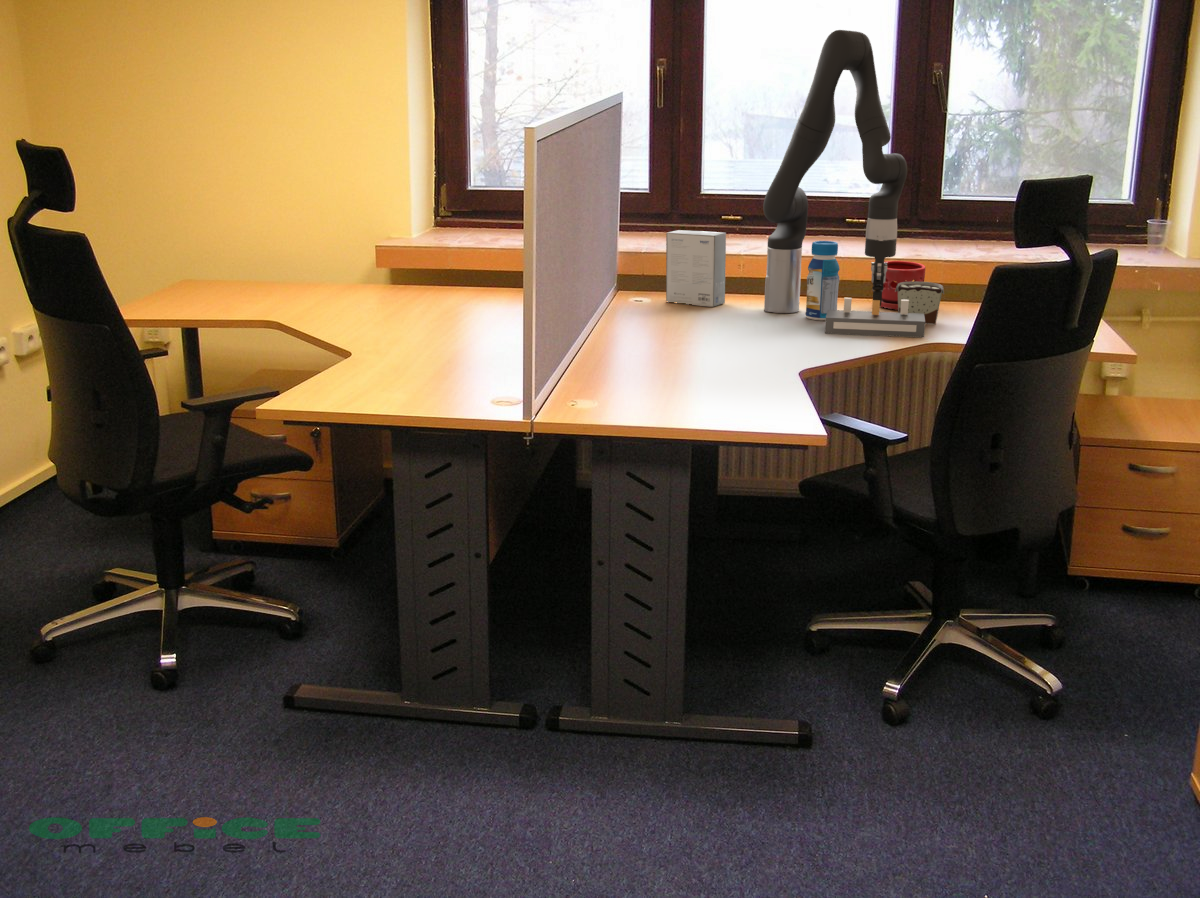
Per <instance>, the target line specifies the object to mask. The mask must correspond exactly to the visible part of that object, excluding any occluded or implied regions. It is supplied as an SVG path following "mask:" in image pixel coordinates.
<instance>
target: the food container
mask: <svg viewBox="0 0 1200 898" xmlns="http://www.w3.org/2000/svg"><path fill="white" fill-rule="evenodd" d="M896 291H898V310H897V313H900V311H901V300H909V305H908V313H921V314H924V316H925V325H933V326H934V325H936V324H937V319H938V315H939V314H938V313H939V309H940V304H941V299H942V296H943V295H945V290H944V286H943V284H940V283H936V282H929V281H924V282H914V281H912V282H902V283H899V284H898V285H897V287H896V290H895V292H896ZM942 294H943V295H942Z"/></svg>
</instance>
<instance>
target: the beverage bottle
mask: <svg viewBox="0 0 1200 898" xmlns="http://www.w3.org/2000/svg"><path fill="white" fill-rule="evenodd" d="M838 244H839V243H838V242H837V241H833V240H832V241H831V240H816V241H812V243H811V255H812V256H813V257H812V258H811V260H810V261H809V263H808V266H807V270H808V274H807V276H806V283H807V284H806V301H805V302H806V304H805V305H806V306H805V317H806V318H807V319H808V320H813V321H820V322H821V321H823V322H824V321H825V322H826V315H827V311H828V310H838V301H839V300H838V299H839V297H838V295H839V283H840V275H839V272H840V264H839V262H838V260H837V259H836V256H838V252H839V245H838Z"/></svg>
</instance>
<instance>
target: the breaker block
mask: <svg viewBox="0 0 1200 898" xmlns="http://www.w3.org/2000/svg"><path fill="white" fill-rule="evenodd" d="M824 324H825V326H824V334H829V335H830V334H831V335H854V336H856V335H857V336H859V335H860V336H881V337H883V336H884V337H904V338H905V337H906V338H922V337H924V338H925V329H926V324H925V316H924V314H921V313H908V315H903V314H900V313H898V312H896V311H895V312H890V311H888V312H887V311H879V315H872V311H870V310H869V311H866V310H865V311H863V310H851V312H844V309H843V310H841V309H840V310H838V309H837V310H828V311H827V315H826V320H825V323H824Z"/></svg>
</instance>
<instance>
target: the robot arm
mask: <svg viewBox="0 0 1200 898" xmlns="http://www.w3.org/2000/svg"><path fill="white" fill-rule="evenodd" d="M873 52H874V51H873V47H872V43H871V40H870V38H869V36H868V35H866V34H865V33H863V32H861V31H856V30H855V31H854V30H846V29H845V30H844V29H838V30H834V31H832V32H831V33H830V34H829V35H828V36H827V37H826V39H825V40H824V43H823V45H822V48H821V50H820V54H819V58H818V61H817V65H816V69H815V73H814V75H813V79H812V83H811V85H810V88H809V91H808V94H807V96H806V99H805V102H804V105H803V107H802V110H801V113H800V115H799V117H798V120H797V122H796V124H795V126H794V130H793V133H792V136H791V137H790V141H789V143H788V146H787V148H786V151H785V153H784V156H783V158H782V161H781V164H780V166H779V169H778V170H777V172H776V174H775V176H774V178H773V180H772V182H771V184H770V186H769V188H768V189H767V192H766V194H765V197H764V200H763V205H762V207H763V208H762V209H763V214H764V216H765V218H766V219H767V220H768V221H769V222H770V223H774V224H776V228H775V230H774V231H773V232H772V233H771V234H770V235H769V236H768V239H767V251H766V252H767V254H766V255H767V257H766V276H765V280H764V281H765V283H764V301H763V302H764V304H763V305H764V307H763V309H764V310H763V312H770V313H775V314H776V313H777V314H792V313H797V312H799V310H800V297H801V296H800V295H801V280H802V279H801V276H802V257H803V256H802V254H803V253H802V252H803V241H804V240H805V237H806V233H807V224H808V223H807V222H808V211H809V202H808V197H807V193H806V192H805V191H804V190H803V188H801V187H799V186H800V184H801V182H802V180H803V178H804V177H805V175H806V174H807V172H808V171H809V170H810V169H811V167H812V166H813V165H814V164H815V162H817V160H818V159H819V158H820V157H821V155H822V154H823V152H824V151H825V149H826V147H827V145H828V142H829V140H830V138H831V136H832V133H833V130H834V128H835V124H836V107H835V95H836V94H835V93H836V89H837V86H838V83H839V81H840V78H841V76H842V74H843V71H849V72H850V74H851V76H852V78H853V80H854V84H855V88H856V91H855V92H856V97H855V103H854V104H855V105H854V119H855V125H856V128H857V131H858V135H859V137H860V141H861V145H862V147H861V148H862V149H861V150H862V152H861V153H862V169H863V173H864V176H865V177H866V179H867V181H868V182H870V183H871V184H875V185H881V187H880V190H878V191H877V192H875V193H874V194H872V195H871V196H870V197H869V199H868V200H869V201H868V210H867V211H868V213H867V214H868V215H867V223H866V227H865V228H866V229H865V242H864V243H865V244H864V245H865V246H864V255H865V256H866V257H870V258H874V262H872V261H871V267H870V271H871V283H872V288H871V290H872V303H873V300H880V307H881V302H882V292H883V289H884V287H883V285H884V283H885V279H886V272H887V265H888V264H887V263H884V262H885V260H886V258H893V257H895V256H896V253H897V241H898V207H899V200H900V197H901V194H902V191H903V188H904V186H905V182H906V179H907V175H908V165H907V164H908V163H907V161H906V159H905V157H904V156H903V155H902V154H900V153H897V152H896V153H884V152H883V148H884V147H885V146H886V145H888V144H889V143H890V141H891V138H892V137H891V132H890V129H889V125H888V122H887V119H886V115H885V112H884V109H883V105H882V102H881V98H880V92H879V85H878V78H877V72H876V66H875V59H874V58H875V57H874V53H873ZM872 303H871V304H872Z"/></svg>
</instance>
